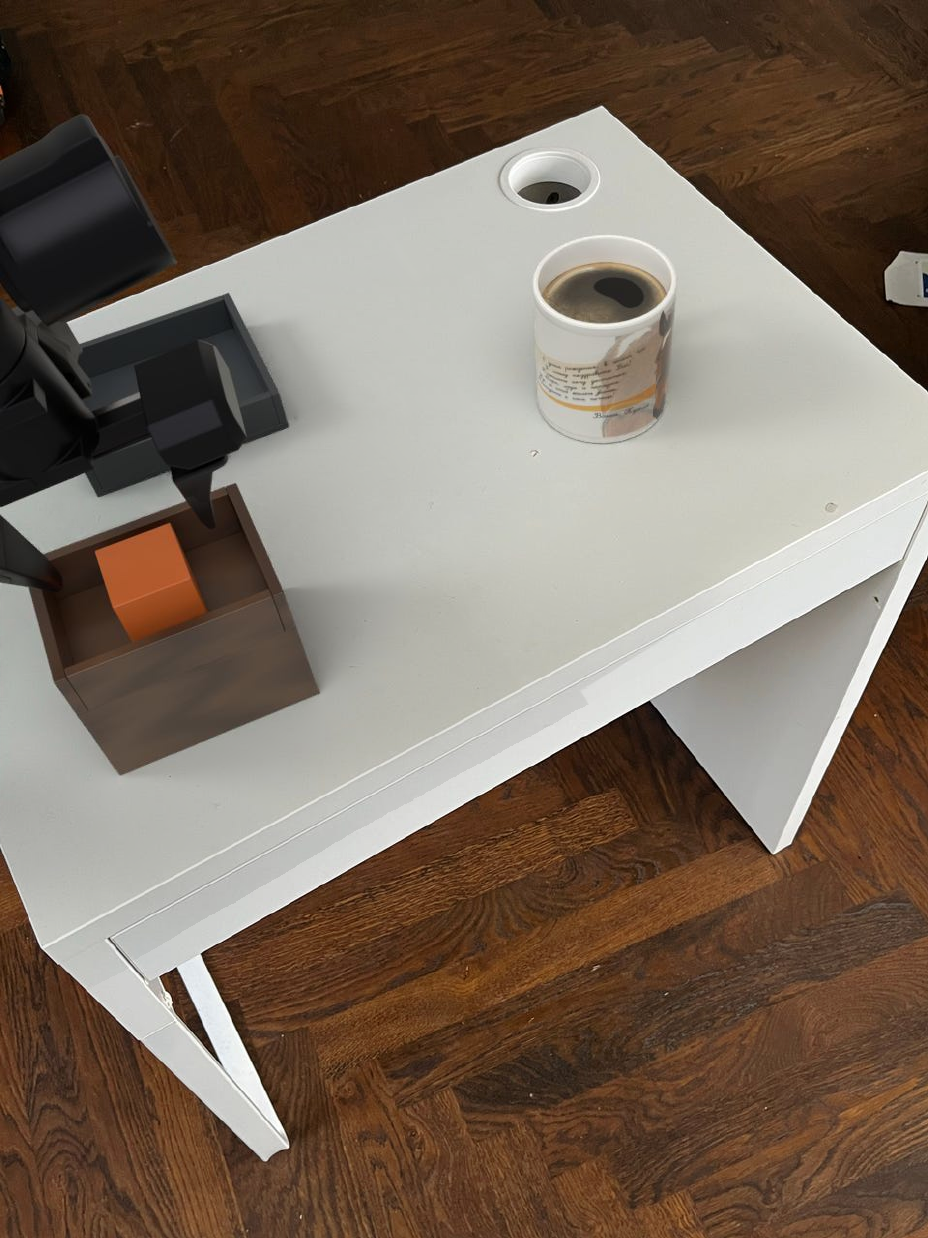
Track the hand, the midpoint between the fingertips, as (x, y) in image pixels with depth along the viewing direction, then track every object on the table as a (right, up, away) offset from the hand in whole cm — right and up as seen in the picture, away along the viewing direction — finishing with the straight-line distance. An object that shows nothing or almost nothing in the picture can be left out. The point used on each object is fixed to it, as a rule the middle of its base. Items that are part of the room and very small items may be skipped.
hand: (135, 553), depth 63 cm
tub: (-5, +13, +27) cm, 30 cm away
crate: (+1, -8, +12) cm, 14 cm away
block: (+1, -4, +5) cm, 7 cm away
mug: (+29, +14, +24) cm, 41 cm away
